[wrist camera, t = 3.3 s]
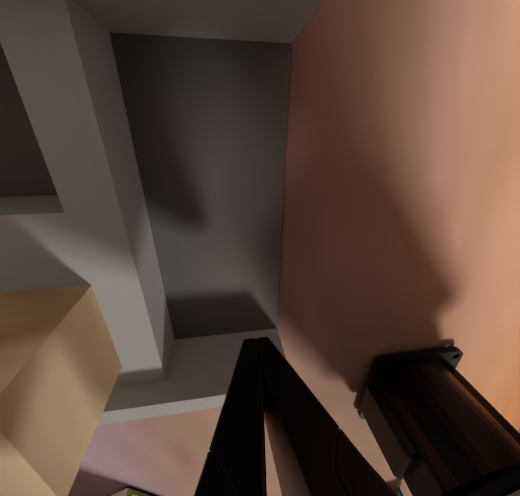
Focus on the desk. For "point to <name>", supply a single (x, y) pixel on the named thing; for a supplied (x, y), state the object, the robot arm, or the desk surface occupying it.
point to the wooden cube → (51, 386)
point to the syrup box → (129, 493)
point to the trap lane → (150, 178)
